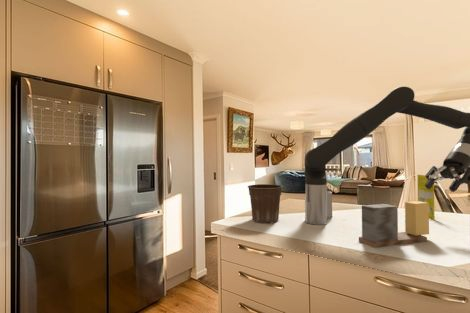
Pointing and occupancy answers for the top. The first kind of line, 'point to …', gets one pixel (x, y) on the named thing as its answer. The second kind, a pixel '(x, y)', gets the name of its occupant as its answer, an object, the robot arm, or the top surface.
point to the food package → (426, 194)
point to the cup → (329, 204)
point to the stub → (417, 218)
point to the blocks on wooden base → (384, 227)
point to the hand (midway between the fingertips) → (438, 188)
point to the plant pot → (265, 202)
